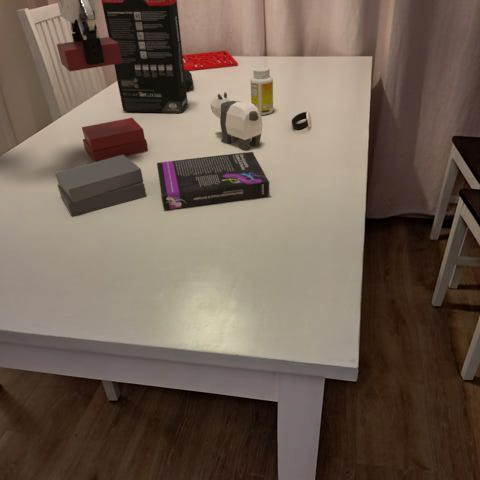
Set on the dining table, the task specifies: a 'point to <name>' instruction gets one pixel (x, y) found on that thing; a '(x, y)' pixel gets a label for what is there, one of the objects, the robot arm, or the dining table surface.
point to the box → (211, 180)
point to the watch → (304, 124)
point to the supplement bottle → (262, 90)
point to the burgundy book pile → (114, 139)
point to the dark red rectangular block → (75, 55)
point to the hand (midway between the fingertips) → (90, 58)
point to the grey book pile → (100, 184)
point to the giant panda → (238, 121)
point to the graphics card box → (148, 54)
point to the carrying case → (188, 80)
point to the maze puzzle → (208, 60)
